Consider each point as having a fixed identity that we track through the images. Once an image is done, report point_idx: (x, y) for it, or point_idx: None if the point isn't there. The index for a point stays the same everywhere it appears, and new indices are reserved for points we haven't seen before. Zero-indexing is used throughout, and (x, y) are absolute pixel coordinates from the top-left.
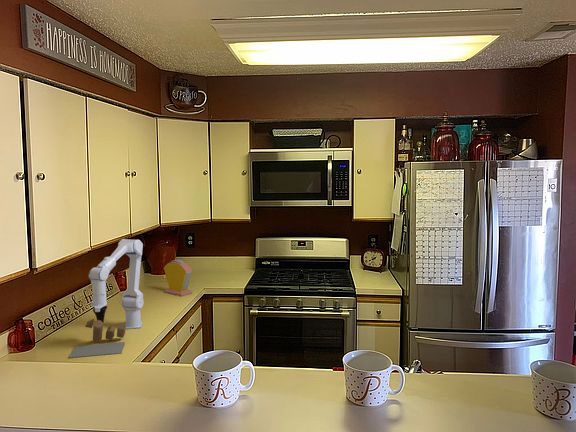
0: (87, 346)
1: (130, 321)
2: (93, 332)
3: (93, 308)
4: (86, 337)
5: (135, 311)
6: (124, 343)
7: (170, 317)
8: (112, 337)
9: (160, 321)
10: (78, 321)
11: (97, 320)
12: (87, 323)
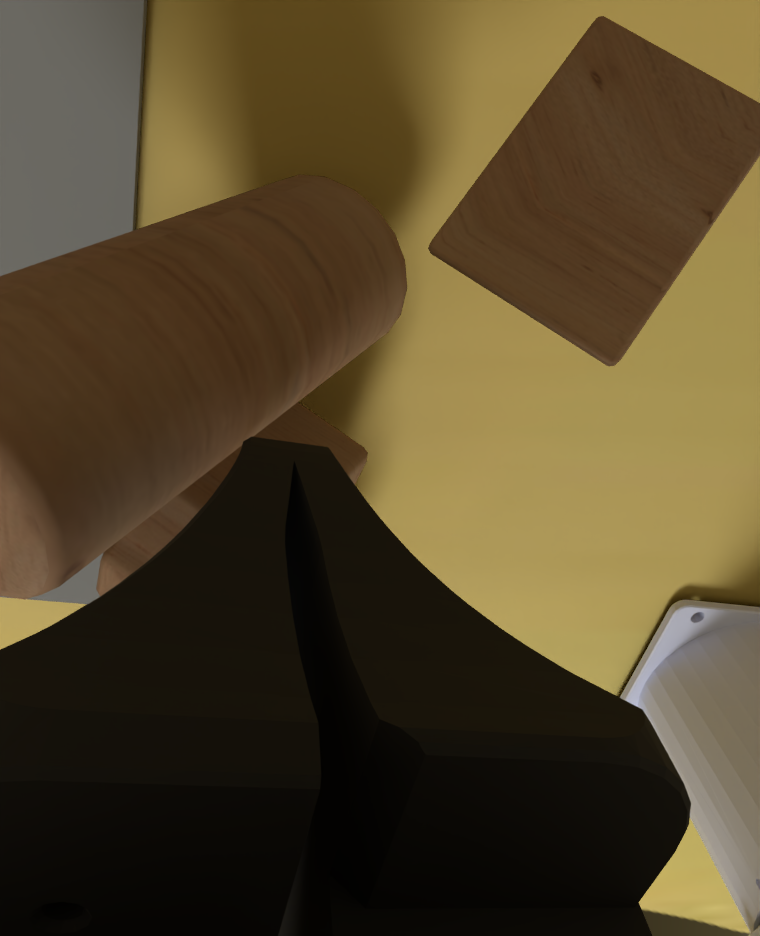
0: (55, 41)
1: (697, 731)
2: (118, 236)
3: (276, 785)
4: (681, 50)
5: (745, 916)
6: (55, 600)
7: (730, 911)
8: None
9: (679, 860)
10: None
11: (29, 507)
12: (666, 107)
